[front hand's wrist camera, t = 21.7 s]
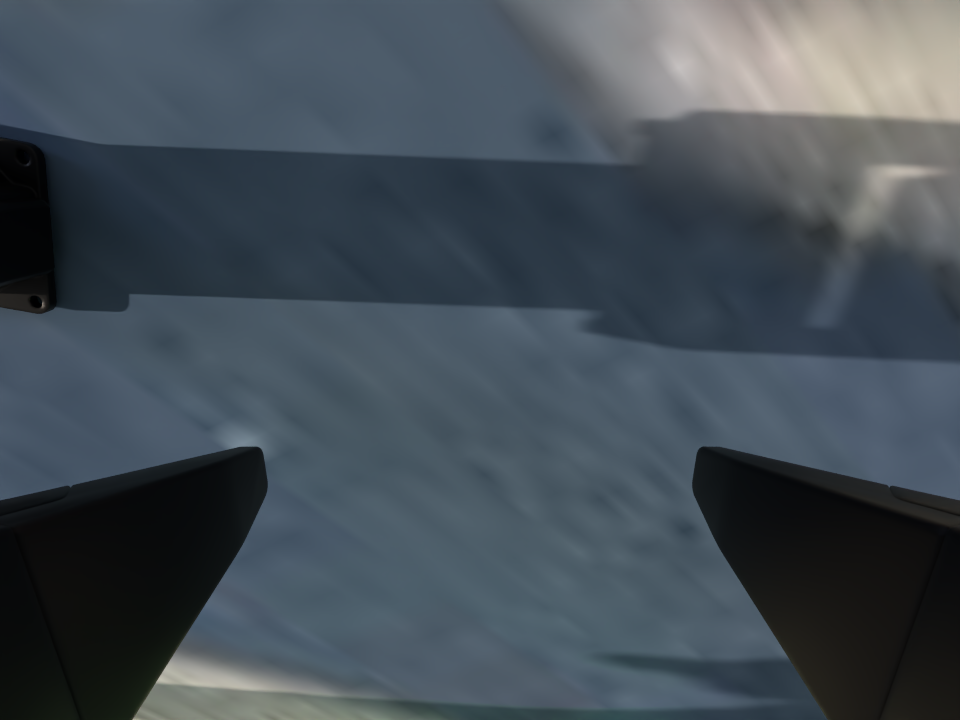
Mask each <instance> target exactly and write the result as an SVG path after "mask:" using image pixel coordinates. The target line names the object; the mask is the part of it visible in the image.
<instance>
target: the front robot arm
mask: <svg viewBox="0 0 960 720" xmlns="http://www.w3.org/2000/svg"><path fill="white" fill-rule="evenodd" d="M25 151H26V152H27V153H28V154H29V157H30V161H29V163H28V162H27V161H26V160H25V158H24V152H25ZM37 296H38V297H40V298H41V299H42V302H43V304H40V303H39V302H38V300H37ZM55 306H56V291H55V279H54V257H53V244H52V231H51V219H50V208H49V204H48V191H47V179H46V167H45V158H44V154H43V153H42V151H41V150H40V149H39V148H38V147H37V146H36V145H34V144H31V143H28V142H23V141H18V140H12V139H7V138H2V137H0V307H2V308H8V309H14V310H19V311H25V312H31V313H36V314H42V313H45V312H48V311H50V310H53V309H54V308H55ZM267 488H268V481H267V475H266V468H265V462H264V455H263V452H262V450H261V448H259V447H238V448H233V449H229V450H224V451H220V452H216V453H211V454H207V455H203V456H198V457H194V458H190V459H185V460H181V461H176V462H172V463H168V464H163V465H159V466H155V467H150V468H146V469H141V470H137V471H133V472H128V473H124V474H120V475H115V476H111V477H106V478H102V479H98V480H93V481H89V482H85V483H80V484H76V485H73V486H72V487H71V488H70V486H64V487H59V488H55V489H51V490H46V491H42V492H37V493H33V494H28V495H23V496H19V497H14V498H10V499H5V500H0V720H132V719H133V718H134V716H135V715H136V713H137V711H138V710H139V708H140V707H141V705H142V703H143V702H144V700H145V699H146V697H147V696H148V694H149V692H150V691H151V689H152V688H153V686H154V684H155V683H156V681H157V680H158V678H159V677H160V675H161V673H162V672H163V670H164V669H165V667H166V666H167V664H168V662H169V661H170V659H171V658H172V656H173V654H174V653H175V651H176V650H177V648H178V647H179V645H180V643H181V642H182V640H183V639H184V637H185V636H186V634H187V632H188V631H189V629H190V628H191V626H192V624H193V623H194V621H195V620H196V618H197V617H198V615H199V613H200V612H201V610H202V609H203V607H204V606H205V604H206V602H207V601H208V599H209V598H210V596H211V594H212V593H213V591H214V590H215V588H216V587H217V585H218V583H219V582H220V580H221V579H222V577H223V576H224V574H225V572H226V571H227V569H228V568H229V566H230V564H231V563H232V561H233V560H234V558H235V557H236V555H237V553H238V552H239V550H240V548H241V547H242V545H243V543H244V541H245V539H246V537H247V535H248V533H249V531H250V528H251V526H252V524H253V522H254V520H255V518H256V515H257V513H258V511H259V509H260V507H261V505H262V503H263V500H264V498H265V496H266V493H267ZM692 488H693V493H694V496H695V498H696V500H697V503H698V505H699V507H700V509H701V511H702V513H703V515H704V518H705V520H706V522H707V524H708V526H709V528H710V531H711V533H712V535H713V537H714V539H715V541H716V543H717V545H718V547H719V548H720V550H721V552H722V553H723V555H724V557H725V558H726V560H727V561H728V563H729V564H730V566H731V568H732V569H733V571H734V572H735V574H736V576H737V577H738V579H739V580H740V582H741V583H742V585H743V587H744V588H745V590H746V591H747V593H748V594H749V596H750V598H751V599H752V601H753V602H754V604H755V605H756V607H757V609H758V610H759V612H760V613H761V615H762V617H763V618H764V620H765V621H766V623H767V624H768V626H769V628H770V629H771V631H772V632H773V634H774V635H775V637H776V639H777V640H778V642H779V643H780V645H781V647H782V648H783V650H784V651H785V653H786V654H787V656H788V658H789V659H790V661H791V662H792V664H793V666H794V667H795V669H796V670H797V672H798V673H799V675H800V677H801V678H802V680H803V681H804V683H805V684H806V686H807V688H808V689H809V691H810V692H811V694H812V696H813V697H814V699H815V700H816V702H817V703H818V705H819V707H820V708H821V710H822V711H823V713H824V714H825V716H826V718H827V719H828V720H960V500H955V499H950V498H946V497H941V496H937V495H932V494H927V493H923V492H918V491H914V490H909V489H905V488H901V487H896V486H890V488H889V487H888V486H887V485H884V484H880V483H876V482H871V481H867V480H862V479H858V478H854V477H849V476H845V475H841V474H836V473H832V472H827V471H823V470H819V469H814V468H810V467H806V466H801V465H797V464H792V463H788V462H784V461H779V460H775V459H771V458H766V457H762V456H757V455H753V454H749V453H744V452H740V451H736V450H731V449H727V448H722V447H701V448H699V450H698V452H697V455H696V462H695V468H694V475H693V481H692Z"/></svg>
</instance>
